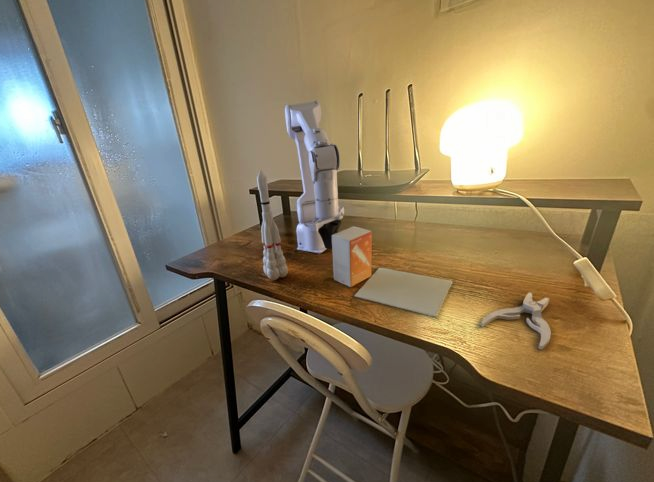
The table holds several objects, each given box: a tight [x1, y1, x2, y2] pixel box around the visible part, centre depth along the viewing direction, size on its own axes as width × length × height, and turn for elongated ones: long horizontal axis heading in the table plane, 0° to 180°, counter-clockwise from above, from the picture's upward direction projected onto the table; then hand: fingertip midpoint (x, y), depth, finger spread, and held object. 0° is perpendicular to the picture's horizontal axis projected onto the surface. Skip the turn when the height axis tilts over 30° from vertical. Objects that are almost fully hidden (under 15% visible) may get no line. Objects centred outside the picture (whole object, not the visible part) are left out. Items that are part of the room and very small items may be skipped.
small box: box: [331, 225, 373, 288], centre depth 78 cm, size 8×6×13 cm
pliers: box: [479, 291, 552, 351], centre depth 58 cm, size 10×2×15 cm
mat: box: [353, 267, 453, 318], centre depth 73 cm, size 18×16×1 cm
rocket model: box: [256, 169, 289, 281], centre depth 81 cm, size 7×7×30 cm
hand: (329, 247), depth 81 cm, fingers closed
